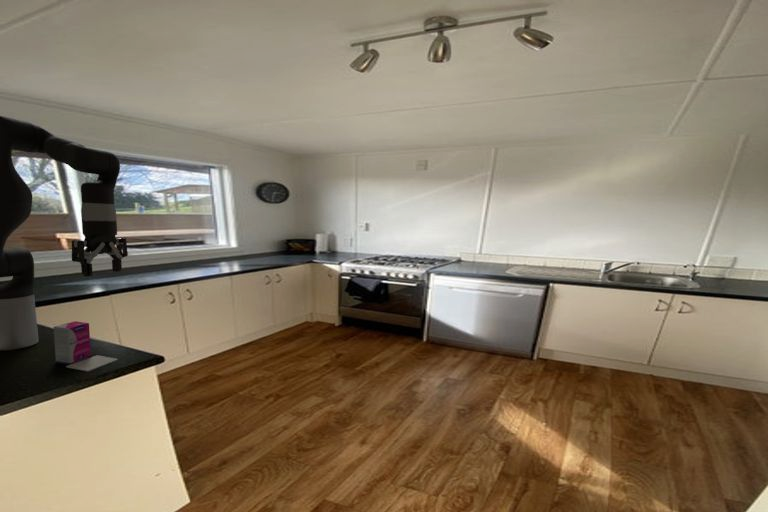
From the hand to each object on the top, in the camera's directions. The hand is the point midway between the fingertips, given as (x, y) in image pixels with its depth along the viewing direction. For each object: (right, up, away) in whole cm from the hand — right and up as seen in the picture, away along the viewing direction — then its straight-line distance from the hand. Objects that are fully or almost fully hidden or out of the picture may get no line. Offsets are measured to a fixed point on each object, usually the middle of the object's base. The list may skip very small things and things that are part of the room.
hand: (103, 273), depth 91 cm
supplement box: (-12, -27, +4) cm, 30 cm away
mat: (-5, -28, +2) cm, 28 cm away
